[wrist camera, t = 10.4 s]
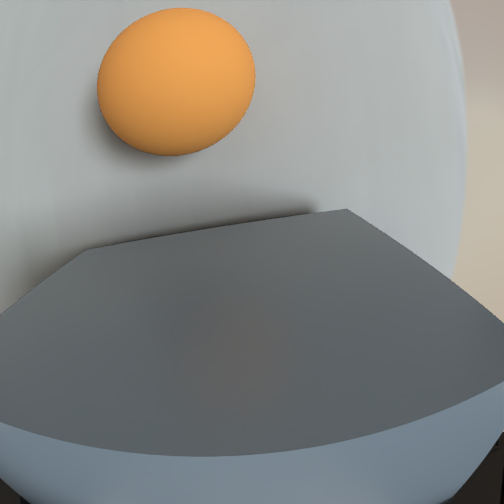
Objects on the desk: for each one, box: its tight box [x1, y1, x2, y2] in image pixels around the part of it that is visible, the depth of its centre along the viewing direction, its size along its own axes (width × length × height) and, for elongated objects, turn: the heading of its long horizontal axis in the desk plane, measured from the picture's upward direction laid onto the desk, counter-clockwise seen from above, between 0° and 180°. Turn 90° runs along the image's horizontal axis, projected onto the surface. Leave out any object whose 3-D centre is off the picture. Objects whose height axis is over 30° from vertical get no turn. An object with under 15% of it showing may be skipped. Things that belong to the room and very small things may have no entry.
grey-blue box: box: [0, 209, 504, 504], centre depth 8 cm, size 10×10×9 cm
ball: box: [97, 8, 255, 156], centre depth 8 cm, size 5×5×5 cm
